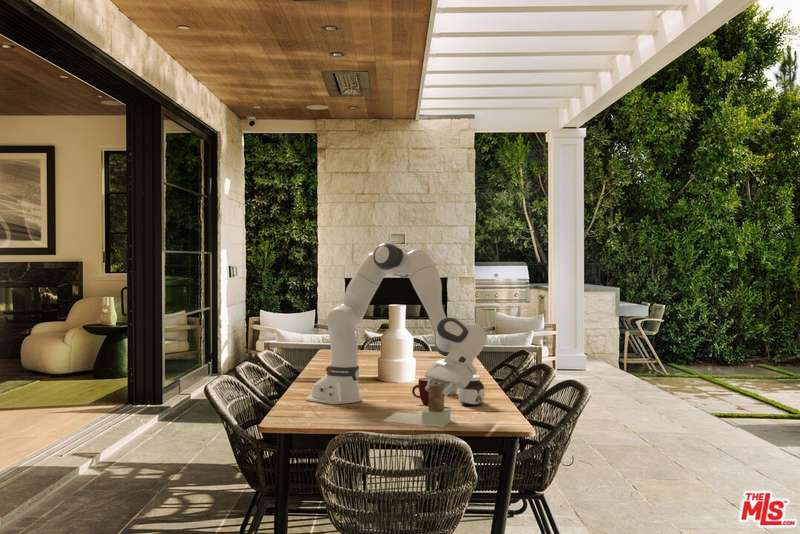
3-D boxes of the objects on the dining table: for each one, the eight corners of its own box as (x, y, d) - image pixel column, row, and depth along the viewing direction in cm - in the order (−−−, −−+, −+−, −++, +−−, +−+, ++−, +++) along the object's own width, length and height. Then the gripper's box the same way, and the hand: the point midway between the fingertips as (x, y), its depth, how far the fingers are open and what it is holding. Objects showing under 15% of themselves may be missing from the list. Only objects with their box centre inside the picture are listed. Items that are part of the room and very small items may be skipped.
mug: (412, 406, 271) (412, 380, 271) (412, 401, 279) (412, 377, 279) (438, 406, 271) (439, 381, 271) (437, 402, 279) (438, 377, 279)
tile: (382, 423, 240) (382, 420, 240) (396, 414, 254) (396, 412, 254) (442, 429, 233) (442, 426, 233) (453, 420, 247) (453, 417, 247)
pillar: (428, 411, 239) (428, 385, 239) (432, 408, 243) (432, 383, 243) (440, 412, 237) (440, 386, 237) (444, 409, 241) (444, 384, 241)
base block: (422, 423, 238) (422, 411, 237) (428, 418, 245) (428, 407, 245) (444, 425, 235) (444, 413, 235) (450, 420, 242) (450, 409, 242)
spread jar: (464, 407, 269) (465, 378, 269) (451, 402, 280) (451, 373, 279) (491, 405, 274) (491, 376, 274) (477, 400, 284) (477, 372, 284)
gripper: (434, 353, 252) (412, 382, 247) (471, 360, 235) (448, 391, 230) (444, 364, 255) (422, 393, 249) (480, 372, 238) (458, 403, 233)
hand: (435, 392), depth 240 cm, fingers open, 8 cm apart
